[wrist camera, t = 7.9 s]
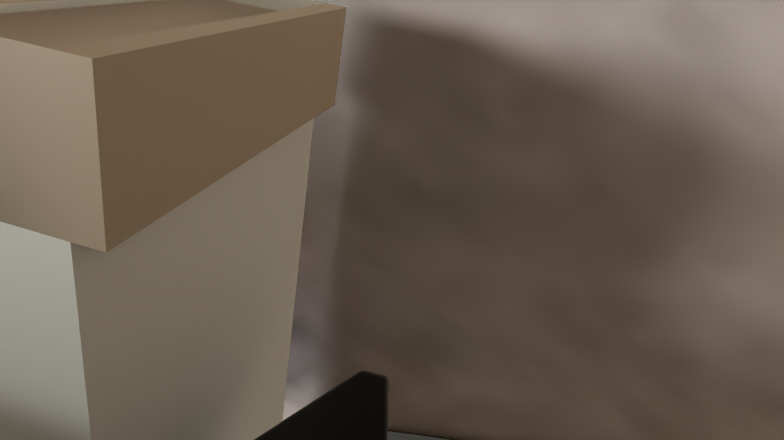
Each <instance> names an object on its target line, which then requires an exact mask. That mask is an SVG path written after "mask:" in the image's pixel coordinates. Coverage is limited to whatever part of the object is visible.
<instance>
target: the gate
mask: <svg viewBox="0 0 784 440" xmlns="http://www.w3.org/2000/svg"><path fill="white" fill-rule="evenodd" d="M345 14H346V7H341V6H336V5H331V4H326V3H321V2H316V1H312V0H0V440H254V439H255V438H257V437H259V436H260V435H262V434H263V433H265V432H266V431H268V430H269V429H271V428H273V427H274V426H276V425H277V424H279V423H280V422H282V419H283V409H284V400H285V390H286V381H287V371H288V362H289V352H290V343H291V333H292V324H293V314H294V305H295V295H296V286H297V276H298V267H299V257H300V248H301V238H302V229H303V220H304V210H305V201H306V191H307V182H308V172H309V163H310V153H311V144H312V134H313V125H314V118H315V117H316V116H318V115H319V114H321V113H322V112H324V111H325V110H327V109H328V108H330V107H331V106H333V105H335V97H336V89H337V80H338V72H339V64H340V55H341V47H342V39H343V31H344V22H345Z"/></svg>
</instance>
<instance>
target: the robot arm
mask: <svg viewBox="0 0 784 440" xmlns="http://www.w3.org/2000/svg"><path fill="white" fill-rule="evenodd" d="M388 390H389V381H388V379H387V377H386V376H384V375H380V374H376V373H372V372H368V371H360V372H358V373H356V374H355V375H353V376H352V377H350V378H349V379H347V380H345V381H344V382H342V383H341V384H339V385H338V386H336V387H335V388H333V389H332V390H330V391H328V392H327V393H325V394H324V395H322V396H321V397H319V398H318V399H316V400H314V401H313V402H311V403H310V404H308V405H307V406H305V407H304V408H302V409H300V410H299V411H297V412H296V413H294V414H293V415H291V416H290V417H288V418H287V419H285V420H283V421H282V422H280V423H279V424H277V425H276V426H274V427H273V428H271V429H269V430H268V431H266V432H265V433H263V434H262V435H260V436H259V437H257V438H255V439H254V440H388Z"/></svg>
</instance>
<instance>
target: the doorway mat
mask: <svg viewBox="0 0 784 440" xmlns="http://www.w3.org/2000/svg"><path fill="white" fill-rule="evenodd" d="M388 440H449V439H442V438H434V437H427V436H420V435H413V434H405V433H398V432H391V431H388Z"/></svg>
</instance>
